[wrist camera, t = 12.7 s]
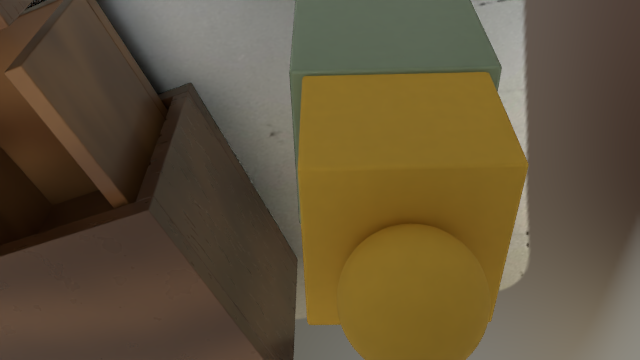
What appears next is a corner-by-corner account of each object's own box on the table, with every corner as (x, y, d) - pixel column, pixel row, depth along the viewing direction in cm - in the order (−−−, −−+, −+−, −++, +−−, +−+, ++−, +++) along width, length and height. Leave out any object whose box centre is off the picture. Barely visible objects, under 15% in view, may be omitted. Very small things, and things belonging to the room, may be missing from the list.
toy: (302, 74, 14) (291, 276, 9) (489, 70, 14) (577, 271, 9) (309, 223, 17) (304, 433, 12) (464, 220, 17) (520, 431, 12)
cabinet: (-1, 152, 36) (-94, 286, 28) (190, 82, 33) (148, 210, 25) (136, 303, 44) (95, 439, 36) (297, 259, 41) (292, 396, 33)
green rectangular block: (304, -109, 27) (289, 70, 14) (418, -112, 27) (503, 66, 14) (308, 1, 30) (299, 226, 17) (410, -2, 30) (474, 223, 17)
